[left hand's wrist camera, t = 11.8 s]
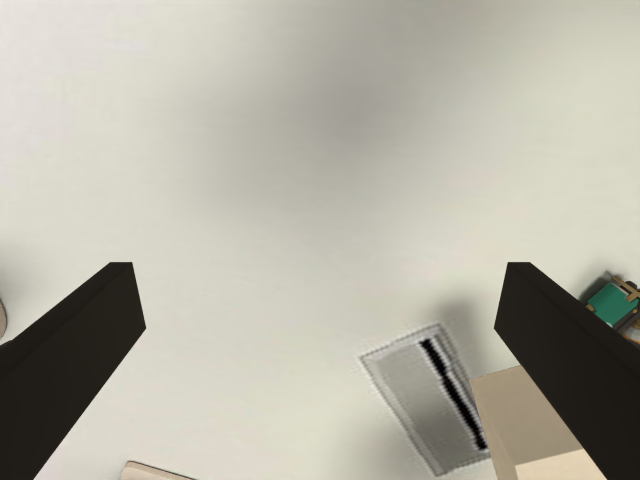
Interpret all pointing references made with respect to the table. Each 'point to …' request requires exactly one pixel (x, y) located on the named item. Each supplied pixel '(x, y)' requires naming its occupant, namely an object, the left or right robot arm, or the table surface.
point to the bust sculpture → (2, 321)
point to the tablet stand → (146, 473)
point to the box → (527, 431)
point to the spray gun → (619, 308)
